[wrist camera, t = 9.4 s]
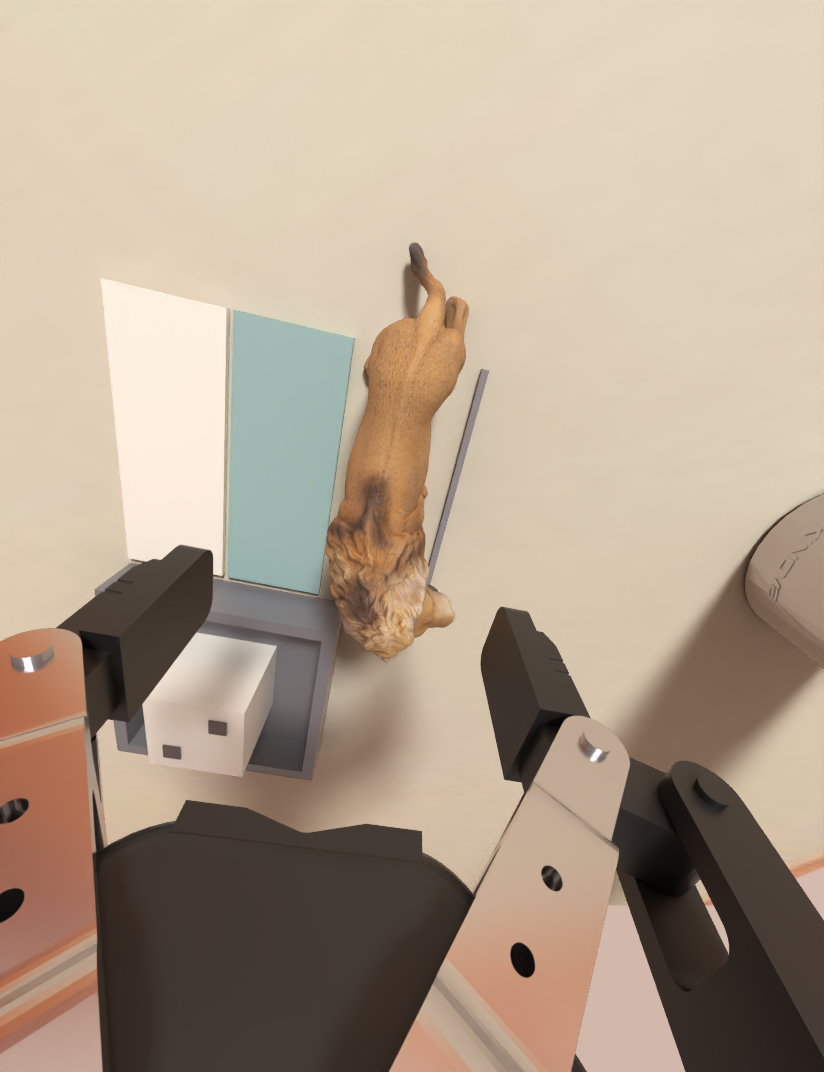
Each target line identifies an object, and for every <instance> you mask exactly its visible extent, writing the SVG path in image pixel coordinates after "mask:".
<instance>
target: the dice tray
mask: <svg viewBox="0 0 824 1072" xmlns="http://www.w3.org/2000/svg"><path fill="white" fill-rule="evenodd" d="M137 565H139V564H134V563H130V564H129V565H127V566H126V567H125V568H123V569H122V570H120V571H119V572H118V573H116V574H115V575H114V576H112V577H111V578H110V579H108V580H107V581H106V582H104V583H103V584H101V585H100V586H99V587H97V588H96V589H95V596H97V595H98V594H100V593H101V592H104V591H105V589H106V588H107V587H108V586H110V585H111V584H112V583H113V582H117V580H118V578H120V577H121V576H122V575H123V574H125V573H126V572H127V571H129V570H130V569H131V568H132V567H134V566H137ZM338 610H339V609H338V607H337V605H336V603H335V601H330V600H324V599H319V598H314V597H308V596H303V595H298V594H293V593H287V592H282V591H277V590H271V589H266V588H261V587H255V586H250V585H245V584H240V583H234V582H229V581H224V580H218V579H213V600H212V606H211V609H210V612H209V615H208V617H207V619H206V620H205V622H204V623H203V624H202V626H201V627H200V628H199V630H198V631H197V633H202V634H208V635H214V636H220V637H226V638H232V639H238V640H244V641H250V642H256V643H262V644H268V645H273V646H277V653H276V666H275V679H274V692H273V704H272V707H271V709H270V712H269V714H268V716H267V719H266V721H265V724H264V726H263V728H262V731H261V733H260V736H259V738H258V740H257V743H256V745H255V748H254V750H253V752H252V755H251V757H250V760H249V762H248V764H247V767H246V769H245V770H247V771H253V772H260V773H266V774H273V775H279V776H285V777H292V778H298V779H305V780H312V776H313V772H314V768H315V764H316V760H317V756H318V752H319V748H320V744H321V739H322V734H323V728H324V722H325V717H326V711H327V705H328V699H329V694H330V688H331V682H332V676H333V671H334V665H335V659H336V654H337V648H338V642H339V636H340V631H341V625H342V621H341V619H340V617H339V613H338ZM114 727H115V734H116V741H117V748H118V751H124V752H131V753H137V754H144V755H148V748H147V740H146V731H145V722H144V714H143V705H142V706H141V707H140V708H139V710H138V711H137V712H136V714H135V715H134V716H133V718H132V719H131V720H130V722H123V721H116V720H114Z"/></svg>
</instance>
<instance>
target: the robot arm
mask: <svg viewBox="0 0 824 1072" xmlns="http://www.w3.org/2000/svg"><path fill="white" fill-rule="evenodd" d="M745 593H746V596H747V600H748V604H749V605H750V607H751V608H752V610H753V611H754V613H755V614H756V615H757V616H759V617H760V618H761V619H762V620H764V621H765V622H766V623H767V624H769V625H770V626H771V627H772V628H774V629H775V630H776V631H777V632H779V633H780V634H781V635H782V636H784V637H785V638H786V639H787V640H789V641H790V642H791V643H792V644H794V645H795V646H796V647H797V648H799V649H800V650H801V651H802V652H804V653H805V654H806V655H807V656H809V657H810V658H811V659H812V660H814V661H815V662H816V663H817V664H818V665H819V666H821V667H822V668H823V669H824V494H822V495H820V496H818V497H816V498H814V499H812V500H810V501H808V502H806V503H804V504H803V505H801V506H800V507H798V508H797V509H796V510H794V511H793V512H791V513H790V514H788V515H787V516H786V517H785V518H784V519H782V520H781V521H780V522H779V523H778V524H777V525H776V526H775V527H774V528H773V529H772V530H771V531H770V532H769V533H768V534H767V536H766V537H765V538H764V540H763V541H762V542H761V543H760V545H759V546H758V548H757V549H756V551H755V553H754V555H753V557H752V559H751V561H750V563H749V567H748V570H747V574H746V577H745ZM212 600H213V554H212V551H211V550H207V549H202V548H197V547H191V546H186V545H178V546H177V547H175V548H174V549H173V550H172V551H171V552H170V553H168V554H167V555H166V556H165V557H164V558H163V559H161V560H158V559H152V560H149V561H147V562H144V563H142V564H139V565H137V566H134V567H132V568H131V569H130V570H129V571H127V572H126V573H125V574H123V575H122V576H121V577H120V578H118V580H117V582H113V583H112V584H111V585H110V586H108V587H107V588H106V589H105V591H104V592H101V593H100V594H98V595H97V596H96V597H94V598H93V599H92V600H91V601H89V602H88V603H87V604H86V605H84V606H83V607H82V608H81V609H79V610H78V611H77V612H76V613H74V614H73V615H72V616H70V617H69V618H68V619H67V620H65V621H64V622H63V623H62V624H60V625H59V626H58V627H57V628H47V629H37V630H31V631H27V632H23V633H20V634H16V635H14V636H11V637H9V638H6V639H4V640H2V641H0V1072H587V1071H586V1070H585V1068H584V1067H583V1065H582V1063H581V1062H580V1060H579V1059H578V1057H577V1056H576V1054H575V1051H576V1047H577V1043H578V1038H579V1034H580V1029H581V1024H582V1020H583V1016H584V1011H585V1007H586V1002H587V998H588V993H589V989H590V984H591V979H592V975H593V971H594V966H595V962H596V957H597V952H598V948H599V943H600V939H601V934H602V930H603V926H604V921H605V916H606V912H607V908H608V903H609V899H610V894H611V890H612V885H613V881H614V876H615V872H616V871H617V874H618V877H619V880H620V882H621V885H622V888H623V891H624V894H625V897H626V900H627V903H628V906H629V908H630V911H631V914H632V917H633V920H634V923H635V926H636V929H637V932H638V935H639V937H640V941H641V943H642V946H643V949H644V952H645V955H646V958H647V961H648V964H649V967H650V969H651V973H652V976H653V978H654V981H655V984H656V987H657V990H658V993H659V996H660V999H661V1002H662V1005H663V1008H664V1010H665V1013H666V1016H667V1019H668V1022H669V1025H670V1028H671V1031H672V1034H673V1036H674V1039H675V1042H676V1045H677V1048H678V1051H679V1054H680V1057H681V1060H682V1063H683V1066H684V1068H685V1071H686V1072H824V920H823V919H822V917H821V916H820V914H819V913H818V911H817V910H816V908H815V907H814V905H813V904H812V903H811V901H810V900H809V898H808V897H807V895H806V894H805V892H804V891H803V889H802V888H801V886H800V885H799V883H798V882H797V880H796V879H795V877H794V876H793V875H792V873H791V872H790V870H789V869H788V867H787V866H786V864H785V863H784V861H783V860H782V858H781V857H780V855H779V854H778V852H777V851H776V849H775V848H774V847H773V845H772V844H771V842H770V841H769V839H768V838H767V836H766V835H765V833H764V832H763V830H762V829H761V827H760V826H759V824H758V823H757V821H756V820H755V819H754V817H753V816H752V814H751V813H750V811H749V810H748V808H747V807H746V805H745V804H744V802H743V801H742V800H741V798H740V797H739V796H738V794H737V793H736V792H735V791H734V790H733V789H732V788H731V787H730V786H729V785H728V784H727V783H726V782H725V781H724V780H722V779H721V778H720V777H719V776H717V775H716V774H714V773H713V772H711V771H710V770H708V769H706V768H704V767H702V766H700V765H698V764H696V763H692V762H688V761H679V762H676V763H675V764H674V765H673V766H672V767H671V769H670V770H669V771H668V772H667V774H666V773H664V772H661V771H659V770H657V769H655V768H652V767H650V766H648V765H645V764H643V763H641V762H639V761H636V760H634V759H632V758H630V757H629V756H628V753H627V751H626V749H625V747H624V745H623V744H622V742H621V741H620V740H619V739H618V737H617V736H616V735H615V734H614V733H613V732H612V731H610V730H609V729H608V728H607V727H605V726H604V725H602V724H601V723H599V722H597V721H595V720H593V719H591V718H590V716H589V714H588V712H587V710H586V708H585V705H584V703H583V701H582V699H581V697H580V695H579V693H578V691H577V689H576V687H575V685H574V683H573V680H572V678H571V676H569V675H568V674H569V672H568V670H567V668H566V666H565V664H564V663H563V660H562V658H561V655H560V653H559V651H558V649H557V647H556V646H555V644H554V643H553V642H552V641H551V640H550V639H549V638H548V637H547V636H546V635H545V634H544V633H543V632H539V631H537V630H536V628H535V626H534V624H533V621H532V619H531V617H530V615H529V613H528V612H527V611H522V610H517V609H511V608H506V607H500V608H499V609H498V611H497V613H496V616H495V618H494V621H493V624H492V626H491V629H490V631H489V634H488V636H487V639H486V642H485V644H484V647H483V650H482V654H481V672H482V677H483V682H484V686H485V691H486V696H487V700H488V705H489V710H490V714H491V719H492V724H493V728H494V733H495V738H496V743H497V747H498V752H499V757H500V761H501V766H502V771H503V775H504V780H510V781H516V782H522V786H523V790H524V794H523V796H522V797H521V799H520V801H519V803H518V805H517V807H516V809H515V811H514V813H513V815H512V817H511V818H510V820H509V822H508V824H507V826H506V828H505V830H504V832H503V834H502V836H501V838H500V840H499V842H498V844H497V846H496V847H495V849H494V851H493V853H492V855H491V857H490V859H489V861H488V863H487V865H486V867H485V869H484V871H483V872H482V874H481V876H480V878H479V880H478V882H477V884H476V885H475V887H474V889H473V891H472V892H471V891H470V890H469V888H468V887H467V886H466V885H465V884H464V883H463V882H462V881H461V880H460V879H459V878H458V877H457V876H456V875H455V874H454V873H453V872H452V871H451V870H449V869H448V868H447V867H446V866H445V865H443V864H442V863H440V862H439V861H437V860H436V859H434V858H432V857H431V856H429V855H427V854H425V853H423V852H422V831H416V830H408V829H401V828H393V827H386V826H378V825H371V824H363V825H356V826H350V827H343V828H337V829H331V830H324V831H318V832H312V833H302V832H299V831H296V830H294V829H292V828H290V827H287V826H285V825H283V824H281V823H279V822H276V821H274V820H272V819H270V818H267V817H265V816H263V815H261V814H259V813H256V812H254V811H252V810H250V809H248V808H243V807H235V806H228V805H220V804H212V803H205V802H197V801H190V800H186V802H185V804H184V806H183V808H182V810H181V812H180V814H179V816H178V818H177V820H176V821H173V822H167V823H163V824H159V825H155V826H152V827H148V828H146V829H143V830H140V831H137V832H135V833H132V834H130V835H128V836H126V837H124V838H122V839H119V840H117V841H115V842H113V843H111V844H110V845H108V842H107V834H106V826H105V817H104V807H103V795H102V784H101V772H100V760H99V749H98V739H97V732H98V730H99V729H100V728H101V727H102V725H103V724H104V723H105V722H106V721H107V719H110V720H116V721H123V722H130V720H131V719H132V718H133V716H134V715H135V714H136V712H137V711H138V710H139V708H140V707H141V706H142V704H143V703H144V702H145V700H146V699H147V698H148V696H149V695H150V694H151V692H152V691H153V690H154V688H155V687H156V686H157V684H158V683H159V682H160V680H161V679H162V678H163V676H164V675H165V674H166V672H167V671H168V670H169V668H170V667H171V666H172V664H173V663H174V662H175V660H176V659H177V658H178V656H179V655H180V654H181V652H182V651H183V650H184V648H185V647H186V646H187V644H188V643H189V642H190V640H191V639H192V638H193V636H194V635H195V634H196V632H197V631H198V630H199V628H200V627H201V626H202V624H203V623H204V622H205V620H206V619H207V617H208V615H209V612H210V609H211V606H212ZM700 879H701V881H702V883H703V885H704V887H705V889H706V891H707V893H708V895H709V897H710V899H711V901H712V903H713V905H714V907H715V909H716V911H717V913H718V915H719V917H720V919H721V921H722V923H723V925H724V927H725V930H726V933H727V937H728V941H729V954H728V952H727V950H726V948H725V946H724V944H723V942H722V940H721V938H720V936H719V934H718V932H717V930H716V927H715V925H714V923H713V921H712V919H711V917H710V915H709V913H708V911H707V909H706V907H705V905H704V903H703V900H702V898H701V896H700V894H699V892H698V890H697V888H696V886H695V884H696V883H697V882H698V881H699V880H700Z"/></svg>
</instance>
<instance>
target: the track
mask: <svg viewBox="0 0 824 1072" xmlns="http://www.w3.org/2000/svg"><path fill="white" fill-rule="evenodd" d="M101 286H102V296H103V306H104V316H105V326H106V337H107V347H108V357H109V367H110V377H111V387H112V398H113V408H114V418H115V428H116V438H117V448H118V459H119V469H120V479H121V489H122V499H123V509H124V520H125V530H126V540H127V550H128V558H130V559H135V560H140V561H146V562H147V561H149V560H152V559H158V560H161V559H163V558H164V557H165V556H166V555H167V554H168V553H170V552H171V551H172V550H173V549H174V548H175V547H177V546H178V545H186V546H191V547H197V548H202V549H207V550H211V551H212V554H213V574H214V575H219V576H223V575H224V574H225V526H226V473H227V420H228V367H229V313H230V309H228V308H224V307H220V306H215V305H211V304H207V303H203V302H199V301H195V300H190V299H186V298H182V297H178V296H174V295H169V294H165V293H161V292H157V291H153V290H148V289H144V288H140V287H136V286H132V285H127V284H123V283H119V282H115V281H111V280H107V279H102V278H101ZM354 340H355V339H354V338H350V337H345V336H341V335H337V334H333V333H329V332H324V331H320V330H316V329H312V328H308V327H303V326H299V325H295V324H291V323H287V322H283V321H278V320H274V319H270V318H266V317H262V316H257V315H253V314H249V313H245V312H241V311H236V310H234V316H233V360H232V404H231V449H230V493H229V537H228V577H230V578H235V579H240V580H246V581H251V582H256V583H262V584H267V585H272V586H277V587H283V588H288V589H293V590H298V591H304V592H309V593H314V594H319V591H320V584H321V577H322V570H323V562H324V555H325V546H326V541H327V534H328V532H327V530H328V526H329V519H330V512H331V505H332V498H333V491H334V483H335V476H336V469H337V462H338V455H339V448H340V440H341V433H342V426H343V419H344V412H345V404H346V397H347V390H348V383H349V376H350V369H351V361H352V354H353V347H354ZM488 372H489V371H488V370H484V369H481V373H480V377H479V380H478V384H477V388H476V392H475V395H474V399H473V403H472V406H471V410H470V414H469V418H468V421H467V425H466V429H465V433H464V436H463V440H462V444H461V447H460V451H459V455H458V459H457V462H456V466H455V470H454V473H453V477H452V481H451V485H450V488H449V492H448V496H447V500H446V503H445V507H444V511H443V514H442V518H441V522H440V526H439V529H438V533H437V537H436V540H435V544H434V548H433V552H432V555H431V559H430V563H429V576H428V580H427V584H429V585H430V582H431V579H432V575H433V571H434V568H435V564H436V561H437V557H438V553H439V550H440V546H441V542H442V539H443V535H444V532H445V528H446V524H447V521H448V517H449V513H450V510H451V506H452V503H453V499H454V495H455V492H456V488H457V485H458V481H459V477H460V474H461V470H462V466H463V463H464V459H465V456H466V452H467V448H468V445H469V441H470V438H471V434H472V430H473V427H474V423H475V419H476V416H477V412H478V409H479V405H480V401H481V398H482V394H483V391H484V387H485V383H486V380H487V376H488Z"/></svg>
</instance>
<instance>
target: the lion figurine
mask: <svg viewBox="0 0 824 1072" xmlns="http://www.w3.org/2000/svg"><path fill="white" fill-rule="evenodd" d="M409 251H410V257H411V268H412V272H413V273H414V275H415V276H416V277H417V278H418V280H419V282H420V284H421V285H422V286H423V287H424V288H425V290H426V291H427V293H428V295H429V296H428V298H427V301H426V304H425V305H424V307H423V308H422V310H421V312H420V314H419V316H418V318H416V319H414V318H405V319H402V320H399V321H397V322H395V323H392V324H391V325H389V326H387V327H386V328H384V329H383V330H382V331H381V332H380V333H379V335H378V336H377V338H376V340H375V342H374V344H373V347H372V351H371V355H370V356H369V358H368V359H367V361H366V362H365V365H364V369H365V372H366V375H367V377H368V378H369V395H368V403H367V407H366V411H365V414H364V417H363V420H362V423H361V425H360V428H359V431H358V434H357V437H356V440H355V444H354V447H353V449H352V452H351V455H350V458H349V462H348V468H347V475H346V483H345V499H344V500H343V501H342V503H341V505H340V507H339V512H338V516H337V517H336V518H335V519H334V520H333V521H332V523H331V524H330V526H329V528H328V530H327V532H328V536H327V545H326V546H325V552H326V554H327V555H328V557H329V564H330V577H331V579H332V583H331V585H330V591H331V593H332V596H333V597H334V598H335V603H336V605H337V607H338V609H339V610H338V613H339V617H340V619H341V621H342V622H343V630H344V632H345V633H346V634H348V635H351V636H352V637H353V638H355V640H356V641H357V642H358V643H359V644H360V645H361V646H363V648H364V649H365V650H367V651H372V652H373V653H375V654H376V655H377V656H380V657H381V658H382V660H384V661H385V662H389V661H390V659H391V657H392V658H393V657H396V656H397V654H398V653H399V651H401V650H404V649H406V648H407V647H408V646H410V645H411V644H412V643H413V640H414V638H415V637H418V636H421V635H422V634H423V633H424V632H425V631H426V629H427V628H433V627H446V626H448V625H449V624H451V623H452V622H453V620H454V618H455V614H454V611H453V610H452V607H451V602H450V600H449V599H448V597H447V596H446V595H444V594H443V593H441V592H438V590H437V589H436V588H434V587H433V586H431V585H429V584H427V580H428V576H429V566H428V564H427V562H426V560H425V559H424V551H425V533H424V531H423V528H422V523H423V519H424V510H423V509H424V498H425V497H426V496H427V494H428V492H427V489H426V487H425V485H424V483H425V480H426V476H427V471H428V462H429V451H430V438H431V420H432V418H433V416H434V414H435V413H436V411H437V410H438V409H439V407H440V406H441V405H442V403H443V402H444V401H445V399H446V398H447V397H448V396H449V395H450V394H451V393H452V391H453V390H454V387H455V385H456V382H457V378H458V375H459V373H460V371H461V369H462V368H463V366H464V363H465V358H466V350H465V345H464V331H465V325H466V321H467V317H468V315H469V308H468V305H467V303H466V302H465V301H464V300H462V299H461V298H458V297H450V298H449V299H448V300H447V302H446V296H445V290H444V288H443V286H442V284H441V283H440V282H439V281H438V280H436V279H435V278H434V277H433V276H432V274H431V273H430V272H429V270H428V268H427V260H426V258H425V257H424V253H423V250H422V248H421V246H420V245H419V244H418V243H411V244H410V247H409ZM445 303H446V304H445Z"/></svg>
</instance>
